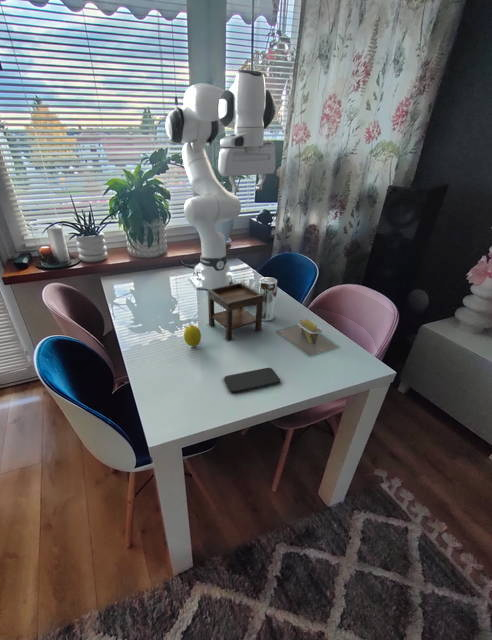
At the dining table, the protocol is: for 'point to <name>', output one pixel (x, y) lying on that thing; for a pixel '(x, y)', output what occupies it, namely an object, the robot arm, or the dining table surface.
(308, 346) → the platform
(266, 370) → the phone
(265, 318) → the beer glass
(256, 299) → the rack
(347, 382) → the dining table surface
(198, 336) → the lemon
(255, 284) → the shaker set
